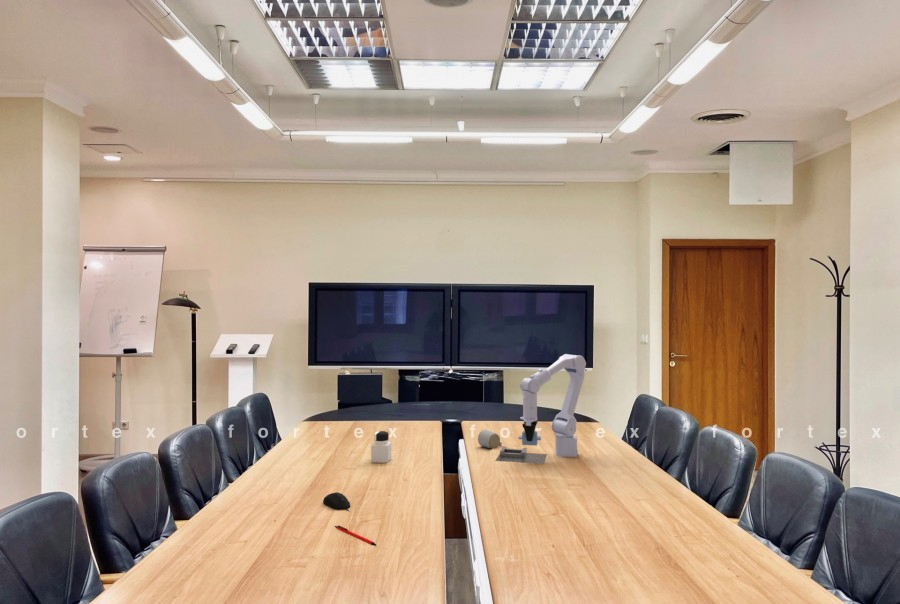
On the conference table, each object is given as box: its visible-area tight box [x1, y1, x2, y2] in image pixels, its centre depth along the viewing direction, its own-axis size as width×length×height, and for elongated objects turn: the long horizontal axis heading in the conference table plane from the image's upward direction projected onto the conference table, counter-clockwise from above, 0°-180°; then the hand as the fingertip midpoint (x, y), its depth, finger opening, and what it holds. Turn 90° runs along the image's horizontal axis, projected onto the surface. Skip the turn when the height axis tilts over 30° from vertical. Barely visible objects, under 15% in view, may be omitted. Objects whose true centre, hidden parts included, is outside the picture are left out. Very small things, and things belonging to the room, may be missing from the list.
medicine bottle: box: [370, 430, 392, 464], centre depth 238 cm, size 7×7×12 cm
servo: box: [518, 429, 542, 446], centre depth 236 cm, size 9×4×6 cm, turn 76°
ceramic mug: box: [477, 429, 503, 449], centre depth 262 cm, size 11×8×8 cm
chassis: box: [495, 446, 548, 465], centre depth 240 cm, size 20×16×3 cm
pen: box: [334, 525, 377, 547], centre depth 159 cm, size 1×19×1 cm, turn 46°
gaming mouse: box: [322, 491, 351, 512], centre depth 183 cm, size 6×15×4 cm, turn 40°
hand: (530, 439), depth 236 cm, fingers closed on servo, 4 cm apart
